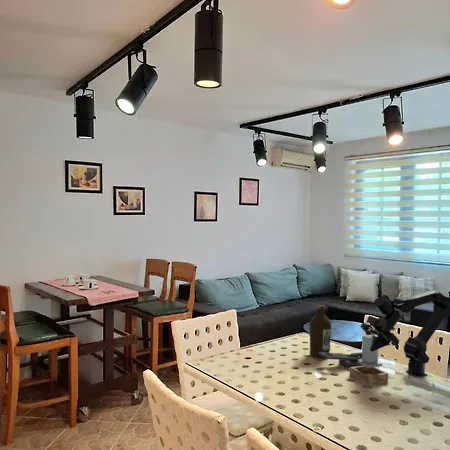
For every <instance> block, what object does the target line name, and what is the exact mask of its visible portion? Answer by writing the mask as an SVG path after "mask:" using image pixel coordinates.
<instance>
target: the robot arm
mask: <svg viewBox="0 0 450 450" xmlns="http://www.w3.org/2000/svg"><path fill="white" fill-rule="evenodd" d="M428 303H432V304H433V307H432V308H433V309H432V311H433V312H432V313H431V314H430V316H429V318H428V319H427V320H426V321H425V323H424V324H423V326H422V327H421V329H420V331H419V332H418V334H416V336H414V337H412V336H409V337H407V340H406V341H405V342H404V346H403V353H404V355H405V358H407V359H408V364H407V366H408V367H407V370H405V373H408V374H409V375H411V376H414V377H415V378H418V377H424V376H428V373H426V372H425V369H426V366H425V365H426V364H428V363H429V361H430V357H429V356H428V354H427V353H426V352H427V345H428V342H429V341H430V339H431V337H432V336H433V335H434V333H435V332H436V331H437V330H438V328H439V326H440V325H441V324H442V321H443V320H445V319H446V318H448V317H450V298H449V297H447V296H445V295H444V294H443V293H441V292H440V291H438V290H432V289H431V290H428V291H425V292H422V293H418V294H415V295H412V296H396V297H394V298H393V299H392V300H391V299H390V298H389V296H388V295H387V294H382V295H381V296H379V297H377V298H375V299H374V301H373V305H374V307H375V308H376V309H377V310H378V312H379V313H381V314H382V315H383V317H381V316H379V317H378V318H377V317H375V316H372V315H368V317H367V319H366V322H362V324H361V325H360V326H359V328H361V329H362V331H364V333H365V335H373V336H377V337H378V338H377V341H376V342H375V343H374V345H373V346H372V348H371V351H372V352H373V351H375V350H378V351H379V350H381V349H382V348H385V347H387V346H391V345H392V346H393V347H396V348H397V347H398V345H399V344H400V339H399V338H398V337H397V336H396V335H395V333H393V332H391V331H395V330H396V328H395V326H396V325H397V323H398V322H399V321H403V322H404V321H405V317H404V315H405V314H407V313H410V312H412V311H414V310H415V308H417V307H419V306H421V305H425V304H428ZM400 312H402V313H400ZM403 313H405V314H403Z"/></svg>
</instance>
